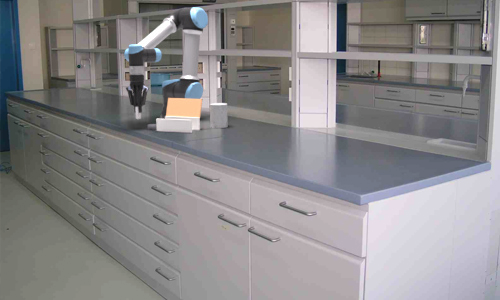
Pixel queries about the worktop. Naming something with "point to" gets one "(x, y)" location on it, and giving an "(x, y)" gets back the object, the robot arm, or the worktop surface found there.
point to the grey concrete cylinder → (218, 115)
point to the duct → (178, 124)
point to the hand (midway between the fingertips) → (138, 118)
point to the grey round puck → (152, 127)
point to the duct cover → (184, 107)
